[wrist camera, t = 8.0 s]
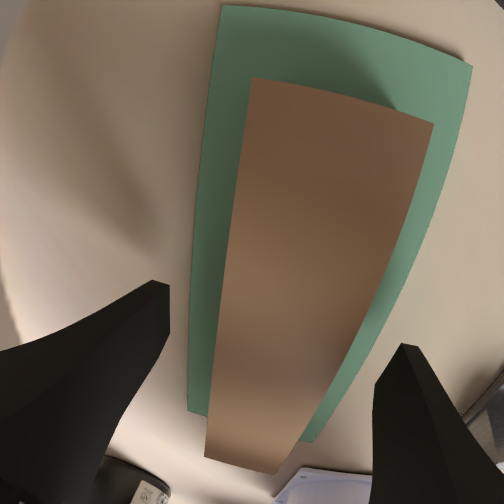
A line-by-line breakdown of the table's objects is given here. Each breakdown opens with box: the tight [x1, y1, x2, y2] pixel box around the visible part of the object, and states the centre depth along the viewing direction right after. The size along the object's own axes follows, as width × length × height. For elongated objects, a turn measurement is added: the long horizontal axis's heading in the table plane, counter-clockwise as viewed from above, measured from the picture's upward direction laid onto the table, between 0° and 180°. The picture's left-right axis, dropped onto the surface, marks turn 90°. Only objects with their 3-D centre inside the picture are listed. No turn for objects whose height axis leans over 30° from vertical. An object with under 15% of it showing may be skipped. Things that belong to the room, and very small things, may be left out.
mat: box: [187, 5, 473, 443], centre depth 11 cm, size 18×7×1 cm, turn 171°
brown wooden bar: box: [204, 77, 434, 475], centre depth 10 cm, size 14×3×3 cm, turn 171°
